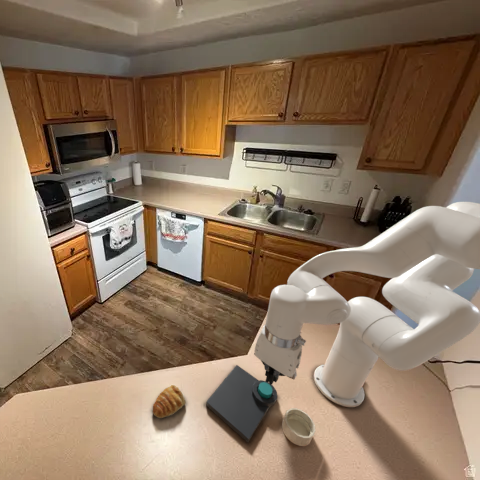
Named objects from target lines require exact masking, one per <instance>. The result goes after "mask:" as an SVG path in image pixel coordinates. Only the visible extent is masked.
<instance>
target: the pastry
mask: <svg viewBox="0 0 480 480" xmlns="http://www.w3.org/2000/svg"><path fill="white" fill-rule="evenodd" d="M186 403H187V402H186V398H185V396H184V394H183V393H182V391H181V390H180V388H179V387H178V386H176V385H174V384H171V385H170V386H168V387H166V388H164V389H163V391H161V392H160V393H159V394H158V395H157V398H156V400H155V401H154V403H153V405H152V414H153V415H154V417H156V418H158V419H163V418H166V417H169V416H173V415H174V414H175V413H177V412H178V411H179V410H180V409H182V408H183V407H184V406H185V405H186Z"/></svg>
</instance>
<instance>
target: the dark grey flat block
mask: <svg viewBox="0 0 480 480" xmlns="http://www.w3.org/2000/svg"><path fill="white" fill-rule="evenodd" d="M262 382H265V383H268V384H269V382H266V380H262V379H260V380H259V379H257V378H256V377H255V376H254V375H252V374H250V373H249V372H248V371H247V370H244V369H243V368H242V367H240V366H239V365H238V364H236V365H235V366H234V368H232V370H231V371H230V372H229V374H228V375H227V376H226V377H225V378H224V379H223V381H222V382H221V383H220V384H219V386H218V387H217V388H215V389H216V390H215V391H214V392H213V393H212V394H211V396H210V397H209V398H208V399H207V401H206V403H205V406H206V407H207V408H208V409H210V410H211V411H212V412H213V414H215V415H216V417H218V418H219V419H220V420H222V421H223V422H224V423H225V424H226V425H227V426H228V427H230V428H231V429H232V430H233V431H234V432H235V433H236V434H237V435H238V436H239V437H241V438H242V439H243V440H244V441H245V442H246V443H247V444H249V442H250V441H251V439H252V437H253V436H254V434H255V432H256V431H257V429H258V427H259V426H260V424H261V422H262V421H263V420H264V417H265V416H266V415H267V413H268V411H269V409H270V408H271V407H272V406H274V405H275V404H276V402H277V400H278V391H277V390H276V388H275V386H274V385H273V384H272V385H271V384H269V385H270V386H271V387H272V394H271V397H270V398H263V397H261V396H260V395H259V393H258V387H259V384H260V383H262Z"/></svg>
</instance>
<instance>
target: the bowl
mask: <svg viewBox="0 0 480 480" xmlns="http://www.w3.org/2000/svg"><path fill="white" fill-rule="evenodd" d="M281 429H282V432H283V434H284V436H285V437H286V438H287V439H288V440H289V442H291V443H292V444H294V445H296V446H298V447H306V446H308V445H310V444H311V442H312V439H313V437H314V436H315V433H316V425H315V422H314V420H313V418H312V417H311V416H310V415H309V414H308V413H307V412H305V411H304V410H302V409H301V408H297V407H290V408H289V409H287V410H286V411H285V414H284V416H283V419H282V422H281Z"/></svg>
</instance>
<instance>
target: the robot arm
mask: <svg viewBox="0 0 480 480" xmlns="http://www.w3.org/2000/svg"><path fill="white" fill-rule="evenodd" d="M475 270H480V203H479V202H473V201H457V202H453V203H451V204H448V205H447V206H446V207H445V206H440V205H428V206H427V205H426V206H423V207H421V208H418V209H416V210H415V211H413V212H411V213H410V214H409V215H407V216H405V217H404V218H403V219H401V220H399V221H398V222H396V223H395V224H393V225H392V226H390V227H389V228H388V229H386V230H385V231H383V232H382V233H379V234H378V235H377V236H376V237H374V238H372V239H371V240H369V241H368V242H367V243H365V244H363V245H361V246H355V247H348V248H347V247H345V248H339V249H336V250H330V251H325V252H322V253H319V254H317V255H315V256H313V257H312V258H310V259H309V260H307V261H306V262H304V263H303V264H301V265H300V266H299V267H297V268H296V269H295V270H294V271H293V272H292V273H291V274H290V275H289V277H288V279H287V282H286V284H280V285H277V286H275V287H274V288H273V289H272V290H271V293H270V295H269V296H270V297H269V303H268V307H267V313H266V319H265V324H264V325H263V327H262V328H261V330H260V332H259V334H258V337H257V340H256V343H255V346H254V353H253V355H254V357H256V358H257V359H258V360H260V362H261V363H262V365H263V367H264V370H265V373H264V376H265V381H266V382H269V384H271V385H273V384H274V383H277V382H278V380H279V377H287V378H288V379H291V380H293V381H294V380H296V378H297V376H298V374H297V369H299V367H300V365H301V360H302V354H303V347H305V345H306V343H307V340H306V339H304V338H303V337H302V329H303V326H304V324H309V325H325V326H331V325H337V324H339V328H338V331H337V334H336V337H335V339H334V341H333V343H332V346H331V348H330V351H329V353H328V355H327V358H326V360H325V362H324V364H321V365H319V366H317V367H316V369H315V370H314V372H313V380H314V384H315V386H316V387H317V389H318V390H319V392H321V394H322V395H323V396H324V397H325V398H327V399H328V400H330V401H331V402H333V403H335V404H336V405H338V406H341V407H346V408H355V407H359V406H360V405H361V404H362V403H363V402H364V399H365V391H364V390H365V389H364V387H363V386H364V384H365V383H366V380H367V379H368V377H369V376H370V374H371V372H372V370H373V368H374V366H375V364H377V362H378V360H379V359H380V360H381V361H382V362H384V364H386V365H387V366H388V367H390V368H392V369H393V370H395V371H399V372H405V371H410V370H413V369H415V368H417V367H420V366H421V365H422V364H424V363H426V362H428V361H430V360H431V359H433V358H434V357H435V356H437V355H439V354H440V353H443V352H444V351H446V350H447V349H449V348H450V347H452V346H453V345H455V344H457V343H458V342H460V341H462V340H463V339H464V338H466V337H467V336H469V335H470V334H472V332H473V331H475V330H476V329H477V328H478V326H479V325H480V309H479V308H478V307H477V306H476V305H475V304H474V303H473V302H472V301H470V300H468V299H466V297H463V296H461V295H459V294H458V293H456V292H455V291H454V290H455V289H457V288H459V286H461V285H463V283H465V282H467V281H468V280H469V279H470V278H471V277H472V276H473V274H474V272H475ZM339 272H356V273H357V272H358V273H362V274H366V275H367V274H368V275H372V276H377V277H380V278H381V277H382V278H386V279H387V278H388V279H390V280H388V281H387V282H386V283H385V284H384V285H383V287H382V289H381V294H382V296H383V297H384V299H385V300H386V301H387V302H388V303H389V304H391V305H392V306H393V307H395V308H396V309H397V310H399V311H400V312H401V313H403V314H404V315H405V316H407V318H408V319H411V320H412V321H413V322H414V323H415V324H417V326H416V327H415V328H413V327H412V326H411V325H409V324H408V323H406V321H405V320H403V319H402V318H400V317H399V316H398V315H397V314H396V313H394V312H393V311H392V310H390V309H389V308H388V307H387V306H385V305H384V304H382V303H381V302H379V301H377V300H376V299H374V298H372V297H368V296H356V297H353V298H351V299H349V300H348V301H347V300H346V298H345V297H343V295H341V294H340V293H339V292H338V291H337V290H336V289H335V288H333V287H332V286H331V285H330V284H329V283H328V282H327V281H325V279H324V278H326V277H327V276H329V275H332V274H334V273H339Z"/></svg>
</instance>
